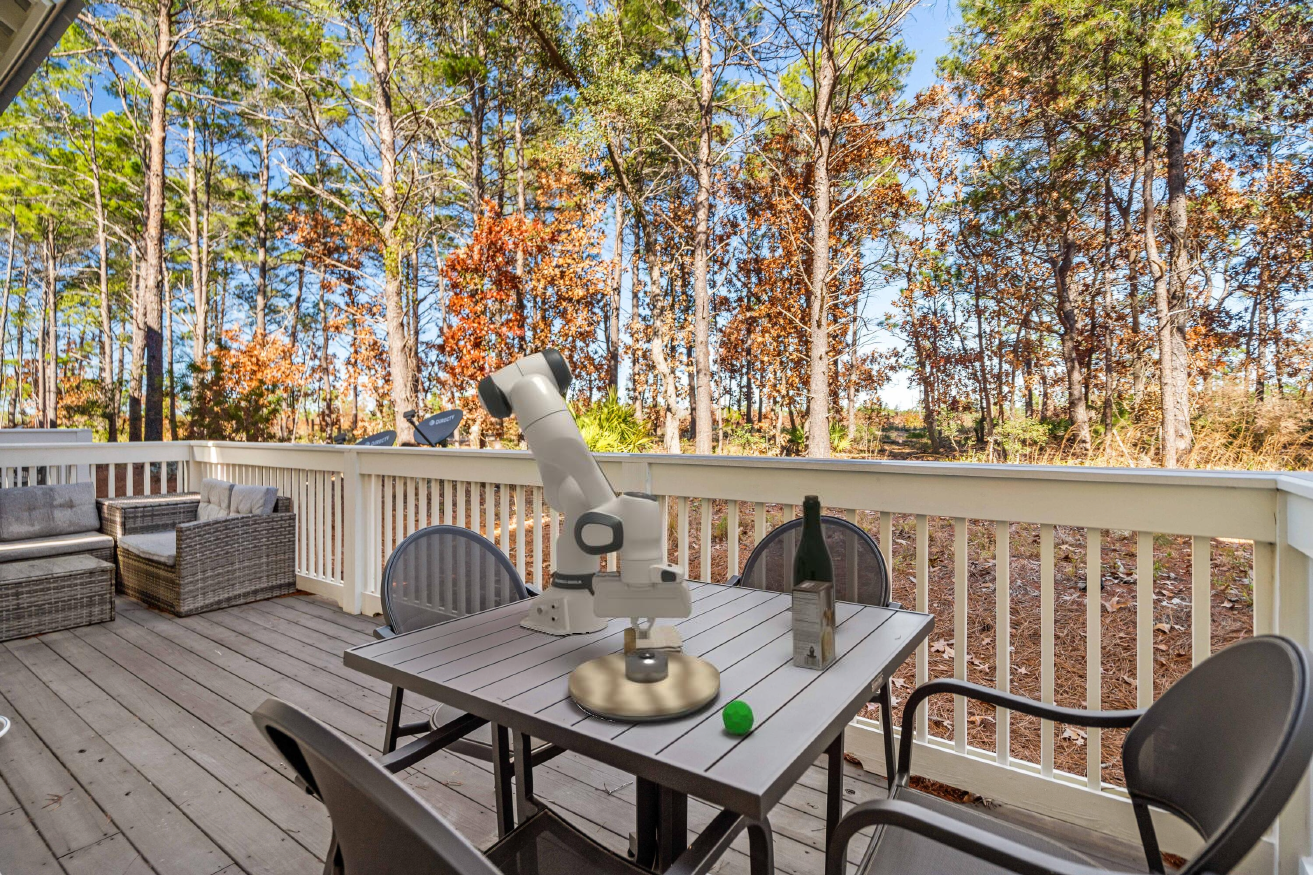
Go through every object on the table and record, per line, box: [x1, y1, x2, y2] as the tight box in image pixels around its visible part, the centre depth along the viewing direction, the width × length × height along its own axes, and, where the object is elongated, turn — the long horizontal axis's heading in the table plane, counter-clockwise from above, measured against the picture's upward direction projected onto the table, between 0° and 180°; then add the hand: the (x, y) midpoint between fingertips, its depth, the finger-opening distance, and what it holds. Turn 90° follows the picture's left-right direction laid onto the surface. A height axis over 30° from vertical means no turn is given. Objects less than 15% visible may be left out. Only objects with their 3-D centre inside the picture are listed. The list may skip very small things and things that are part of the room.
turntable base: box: [575, 643, 716, 725], centre depth 117 cm, size 26×26×4 cm
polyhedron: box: [721, 700, 755, 736], centre depth 100 cm, size 5×5×5 cm
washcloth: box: [636, 624, 684, 654], centre depth 144 cm, size 12×18×3 cm, turn 6°
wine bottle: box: [791, 494, 837, 631], centre depth 153 cm, size 10×10×33 cm
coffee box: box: [791, 580, 836, 671], centre depth 131 cm, size 9×6×16 cm
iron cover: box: [625, 649, 668, 683], centre depth 117 cm, size 8×8×4 cm
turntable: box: [567, 627, 721, 716], centre depth 117 cm, size 28×28×6 cm
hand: (643, 638), depth 129 cm, fingers closed
